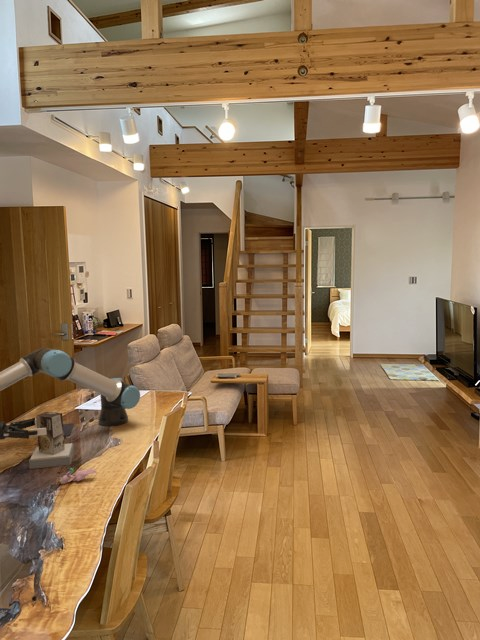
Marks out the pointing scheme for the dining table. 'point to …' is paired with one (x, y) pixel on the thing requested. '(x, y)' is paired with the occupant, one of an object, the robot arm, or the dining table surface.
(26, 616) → the dining table surface
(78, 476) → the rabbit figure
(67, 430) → the notebook
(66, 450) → the pedestal
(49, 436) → the coffee box
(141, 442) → the dining table surface
